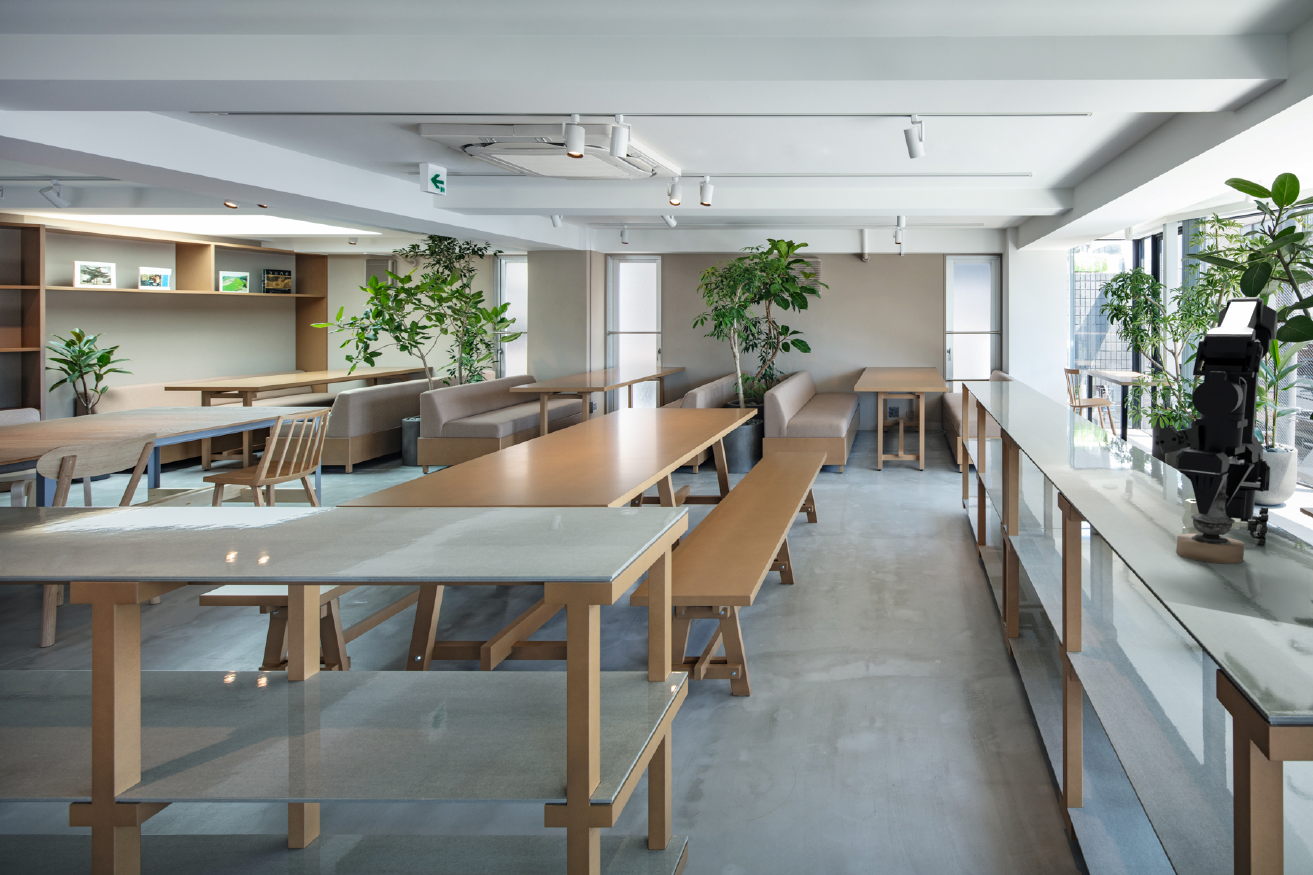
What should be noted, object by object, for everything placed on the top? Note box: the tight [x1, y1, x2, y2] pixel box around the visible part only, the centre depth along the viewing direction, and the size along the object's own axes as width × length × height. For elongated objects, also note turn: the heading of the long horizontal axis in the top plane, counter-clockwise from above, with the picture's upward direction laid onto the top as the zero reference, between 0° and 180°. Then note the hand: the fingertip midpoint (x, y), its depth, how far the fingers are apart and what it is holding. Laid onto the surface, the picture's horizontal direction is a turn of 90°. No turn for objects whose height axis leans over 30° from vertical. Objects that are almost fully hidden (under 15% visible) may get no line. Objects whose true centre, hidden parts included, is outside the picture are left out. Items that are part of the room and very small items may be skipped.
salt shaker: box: [1191, 478, 1235, 545], centre depth 133 cm, size 6×6×12 cm
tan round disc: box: [1175, 533, 1245, 565], centre depth 134 cm, size 9×9×2 cm
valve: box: [1181, 498, 1269, 547], centre depth 144 cm, size 7×7×12 cm
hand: (1213, 509), depth 133 cm, fingers open, 9 cm apart
